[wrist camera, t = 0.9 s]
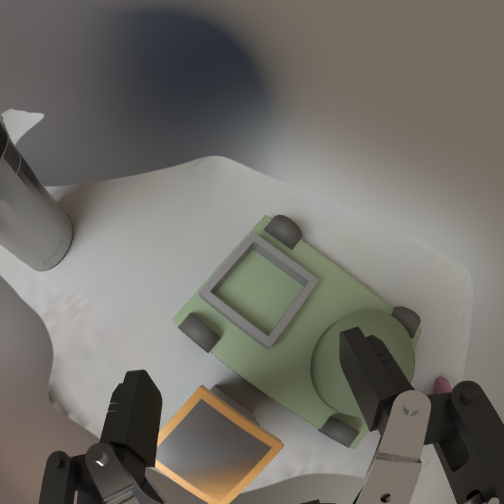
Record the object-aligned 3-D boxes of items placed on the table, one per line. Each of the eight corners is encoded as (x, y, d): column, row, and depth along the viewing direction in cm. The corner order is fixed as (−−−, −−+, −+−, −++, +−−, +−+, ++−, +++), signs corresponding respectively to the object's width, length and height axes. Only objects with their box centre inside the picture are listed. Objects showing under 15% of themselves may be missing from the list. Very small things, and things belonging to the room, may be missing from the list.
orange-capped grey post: (179, 418, 25) (139, 453, 12) (213, 378, 27) (199, 386, 14) (224, 452, 23) (221, 510, 11) (259, 412, 26) (284, 445, 13)
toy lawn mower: (174, 324, 29) (164, 315, 24) (264, 222, 35) (269, 199, 30) (346, 446, 24) (365, 456, 20) (413, 332, 30) (436, 324, 26)
